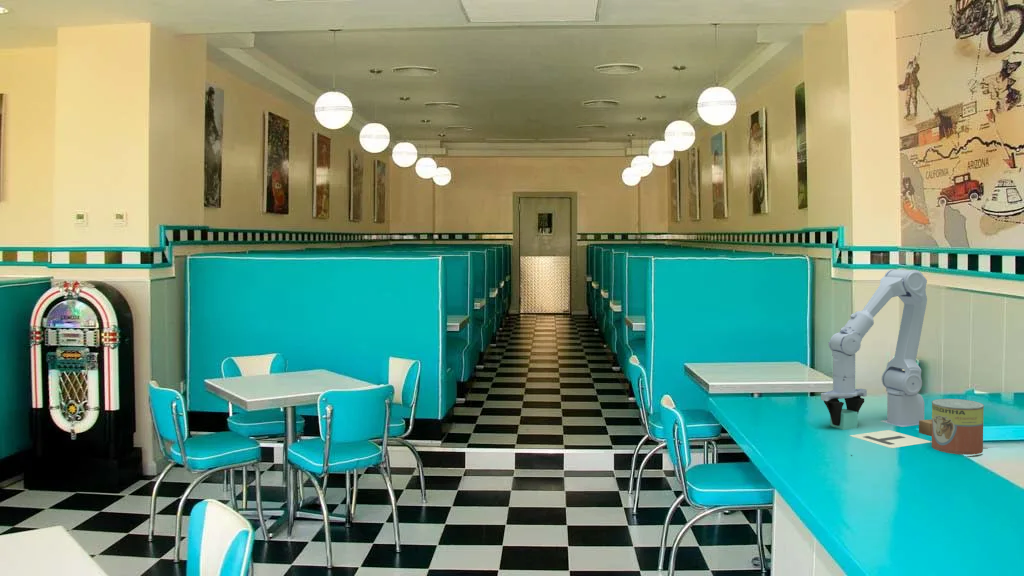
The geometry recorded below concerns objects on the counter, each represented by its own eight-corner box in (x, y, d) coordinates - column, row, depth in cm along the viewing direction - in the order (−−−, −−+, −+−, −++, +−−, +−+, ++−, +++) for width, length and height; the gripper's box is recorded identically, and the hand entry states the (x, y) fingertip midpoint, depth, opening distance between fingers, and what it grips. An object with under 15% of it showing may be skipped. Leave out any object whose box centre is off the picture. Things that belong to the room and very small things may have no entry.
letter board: (888, 432, 214) (888, 429, 214) (932, 444, 201) (932, 441, 201) (848, 437, 209) (848, 435, 209) (891, 450, 196) (891, 448, 196)
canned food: (920, 448, 197) (921, 401, 196) (951, 443, 202) (952, 397, 201) (962, 459, 187) (962, 410, 186) (993, 453, 191) (994, 405, 191)
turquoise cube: (844, 426, 222) (844, 408, 221) (857, 429, 217) (857, 412, 217) (830, 427, 220) (830, 410, 220) (843, 431, 215) (843, 413, 215)
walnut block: (918, 435, 210) (931, 433, 211) (929, 438, 207) (942, 437, 207) (918, 420, 210) (931, 419, 211) (930, 423, 206) (942, 422, 207)
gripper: (834, 380, 211) (834, 429, 212) (875, 375, 216) (875, 424, 217) (815, 376, 218) (815, 424, 219) (855, 372, 223) (855, 418, 224)
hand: (843, 423), depth 218 cm, fingers closed on turquoise cube, 5 cm apart
